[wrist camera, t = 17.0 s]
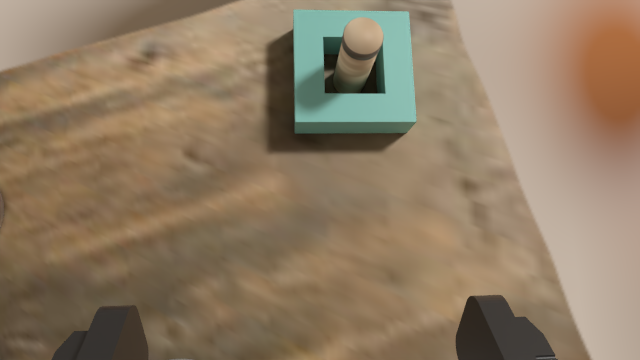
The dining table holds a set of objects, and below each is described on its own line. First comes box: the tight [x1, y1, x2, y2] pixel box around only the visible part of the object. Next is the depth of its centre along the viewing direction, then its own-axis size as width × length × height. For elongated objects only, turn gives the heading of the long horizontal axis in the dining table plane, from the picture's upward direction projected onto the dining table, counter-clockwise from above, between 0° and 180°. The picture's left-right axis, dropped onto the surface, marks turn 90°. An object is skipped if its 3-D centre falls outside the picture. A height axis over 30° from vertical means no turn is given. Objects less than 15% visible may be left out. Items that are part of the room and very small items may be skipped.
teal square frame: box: [293, 10, 416, 133], centre depth 44 cm, size 11×11×4 cm
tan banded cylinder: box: [333, 17, 384, 94], centre depth 41 cm, size 3×3×9 cm
